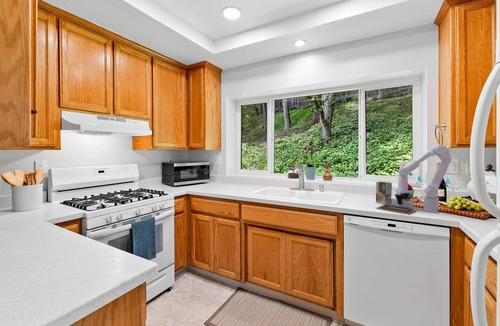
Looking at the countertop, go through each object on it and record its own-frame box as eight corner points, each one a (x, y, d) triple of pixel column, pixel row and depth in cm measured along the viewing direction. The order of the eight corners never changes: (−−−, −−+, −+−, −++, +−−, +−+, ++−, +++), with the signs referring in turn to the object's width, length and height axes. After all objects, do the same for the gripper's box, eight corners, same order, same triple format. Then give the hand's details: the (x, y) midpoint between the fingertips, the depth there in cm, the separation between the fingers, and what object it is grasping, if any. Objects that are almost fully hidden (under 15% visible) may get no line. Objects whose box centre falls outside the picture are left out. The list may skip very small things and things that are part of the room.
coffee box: (391, 204, 182) (392, 182, 181) (385, 204, 180) (385, 183, 179) (381, 201, 191) (382, 181, 190) (375, 202, 189) (375, 181, 188)
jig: (385, 205, 176) (385, 203, 176) (416, 211, 160) (416, 208, 160) (376, 208, 168) (376, 206, 168) (408, 214, 152) (408, 211, 152)
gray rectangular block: (394, 205, 177) (394, 197, 176) (413, 209, 167) (413, 199, 167) (391, 206, 174) (391, 197, 173) (410, 210, 164) (410, 200, 164)
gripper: (400, 183, 177) (400, 201, 178) (392, 185, 168) (391, 204, 169) (411, 184, 171) (411, 203, 172) (403, 186, 163) (402, 206, 163)
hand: (402, 203), depth 170 cm, fingers open, 7 cm apart
